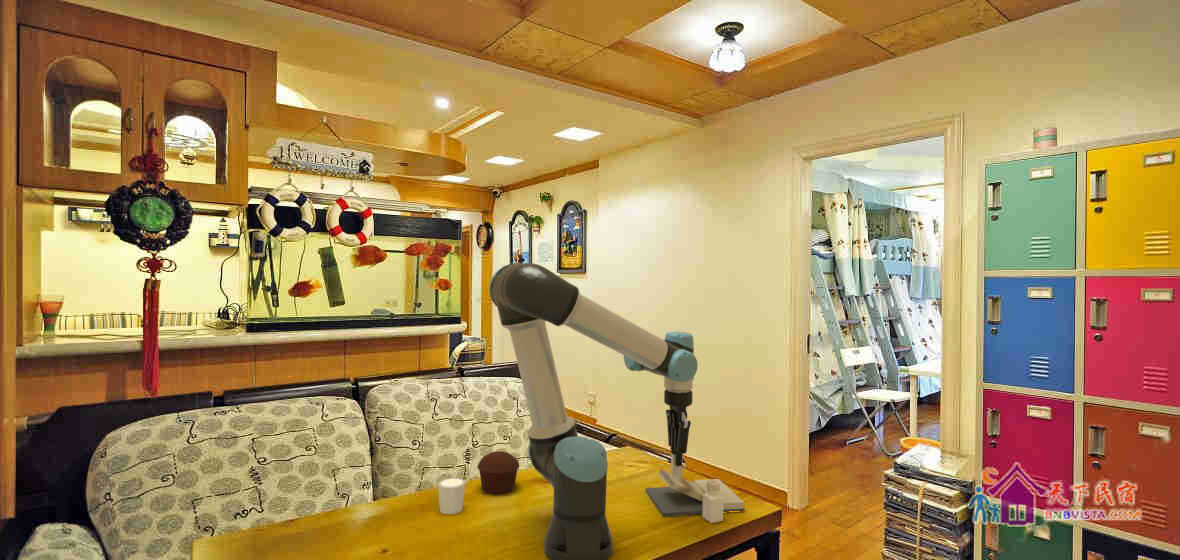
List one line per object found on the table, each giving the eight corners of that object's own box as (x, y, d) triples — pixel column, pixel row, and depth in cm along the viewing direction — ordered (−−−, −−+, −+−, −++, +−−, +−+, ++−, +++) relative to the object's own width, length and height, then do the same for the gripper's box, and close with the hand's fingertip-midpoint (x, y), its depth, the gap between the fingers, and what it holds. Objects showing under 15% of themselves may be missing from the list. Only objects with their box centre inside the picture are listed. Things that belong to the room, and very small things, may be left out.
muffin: (523, 482, 157) (524, 448, 157) (513, 498, 146) (514, 461, 146) (483, 479, 158) (484, 445, 158) (471, 495, 147) (472, 458, 147)
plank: (668, 487, 141) (671, 481, 141) (657, 474, 150) (660, 468, 150) (707, 503, 143) (709, 498, 143) (694, 490, 152) (697, 484, 152)
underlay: (663, 517, 137) (663, 506, 137) (645, 491, 153) (645, 482, 153) (743, 512, 141) (744, 502, 141) (718, 487, 157) (718, 479, 157)
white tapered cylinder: (431, 511, 137) (432, 484, 136) (450, 501, 143) (450, 475, 143) (452, 517, 133) (452, 489, 133) (470, 507, 139) (471, 480, 139)
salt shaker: (714, 515, 139) (715, 478, 139) (723, 522, 135) (725, 484, 135) (701, 517, 137) (702, 480, 137) (710, 524, 134) (711, 486, 133)
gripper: (700, 394, 140) (699, 485, 140) (683, 384, 153) (681, 466, 153) (673, 395, 138) (671, 486, 139) (657, 384, 151) (656, 468, 152)
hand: (676, 476), depth 146 cm, fingers closed
